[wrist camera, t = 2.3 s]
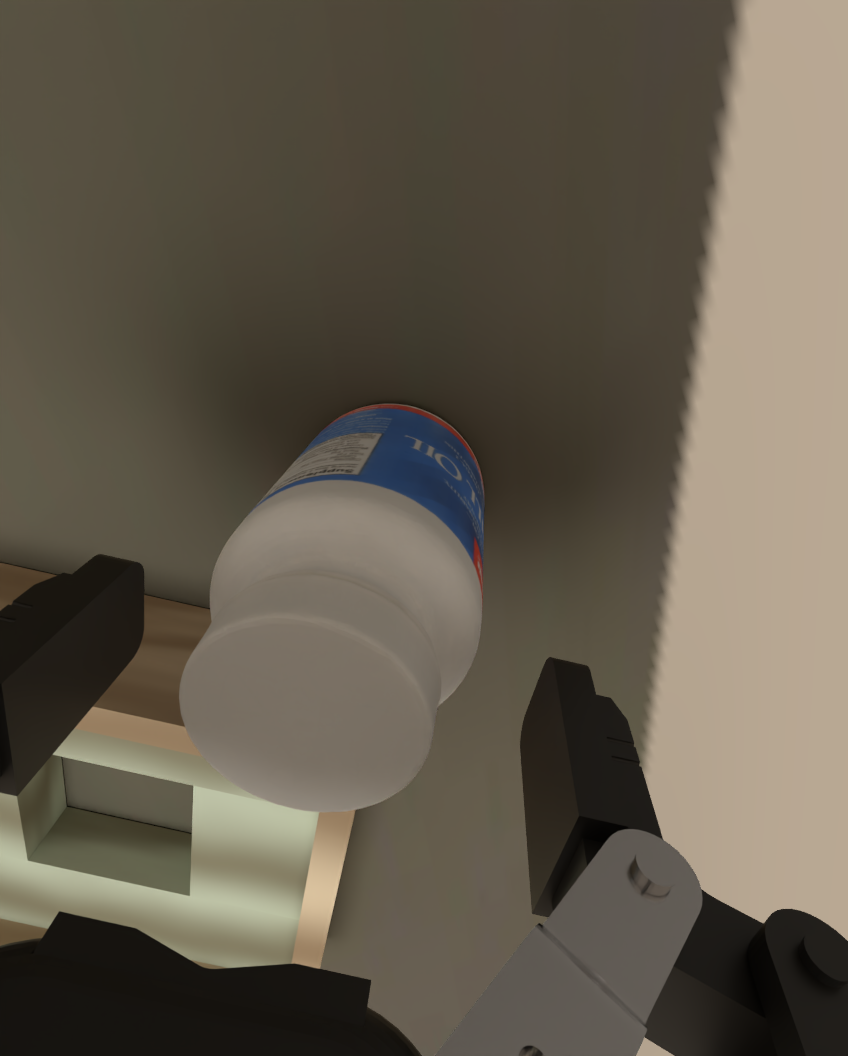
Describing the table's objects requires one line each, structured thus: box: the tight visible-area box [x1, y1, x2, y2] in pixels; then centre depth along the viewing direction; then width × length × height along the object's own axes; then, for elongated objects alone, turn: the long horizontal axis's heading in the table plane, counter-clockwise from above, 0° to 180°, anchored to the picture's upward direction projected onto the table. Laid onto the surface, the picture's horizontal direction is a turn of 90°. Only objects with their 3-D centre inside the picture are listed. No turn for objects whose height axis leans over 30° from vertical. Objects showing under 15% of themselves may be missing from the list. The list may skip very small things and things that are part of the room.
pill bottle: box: [179, 404, 485, 812], centre depth 14 cm, size 6×5×10 cm
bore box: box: [0, 563, 355, 969], centre depth 22 cm, size 18×18×5 cm
